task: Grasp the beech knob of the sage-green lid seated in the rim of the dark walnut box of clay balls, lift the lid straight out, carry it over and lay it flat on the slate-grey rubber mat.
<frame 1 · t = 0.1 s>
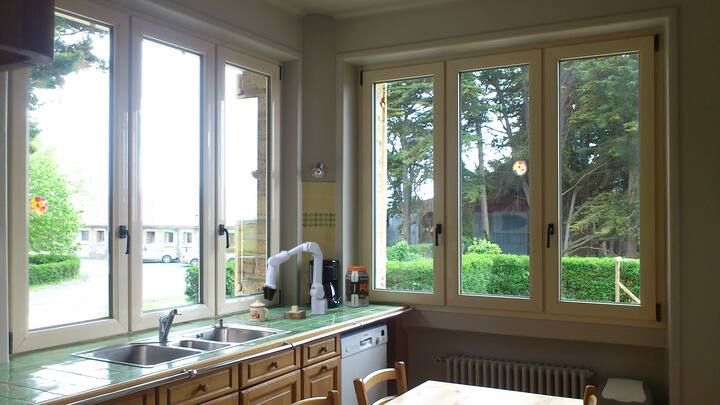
hand: (268, 299, 387), 11 cm above the counter, tool pointing down, fingers open, 7 cm apart
teacup with lid: (259, 321, 375), on the counter
rubber mat: (278, 316, 392), on the counter
lid: (294, 312, 383), point 3 cm above the counter, touching walnut box
walnut box: (294, 318, 383), on the counter
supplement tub: (357, 306, 433), on the counter
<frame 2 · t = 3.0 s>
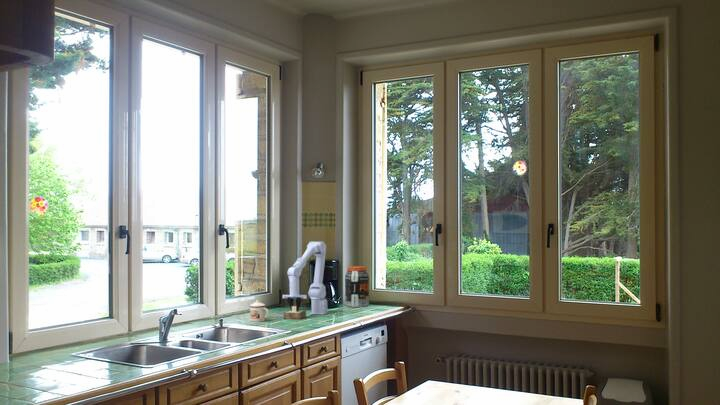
hand: (294, 310, 384), 4 cm above the counter, tool pointing down, fingers closed on lid, 3 cm apart
lid: (294, 312, 383), point 3 cm above the counter, touching gripper, walnut box
everything else where it was.
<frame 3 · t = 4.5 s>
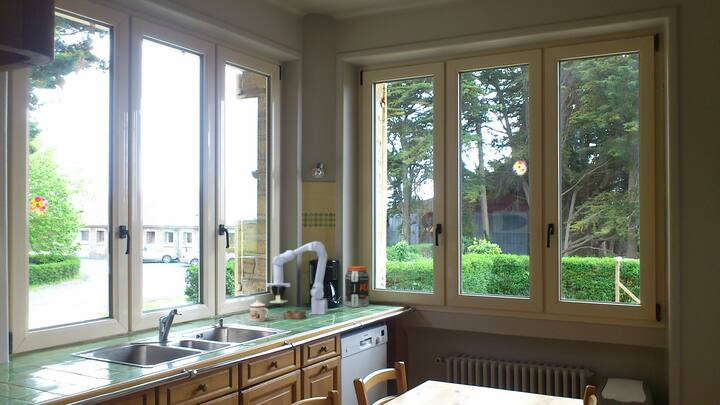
hand: (278, 298, 393), 10 cm above the counter, tool pointing down, fingers closed on lid, 3 cm apart
lid: (278, 302, 393), point 8 cm above the counter, touching gripper
everything else where it was.
when the fingers open (3 cm above the counter, at t = 6.2 s): lid stays where it is, resting on rubber mat.
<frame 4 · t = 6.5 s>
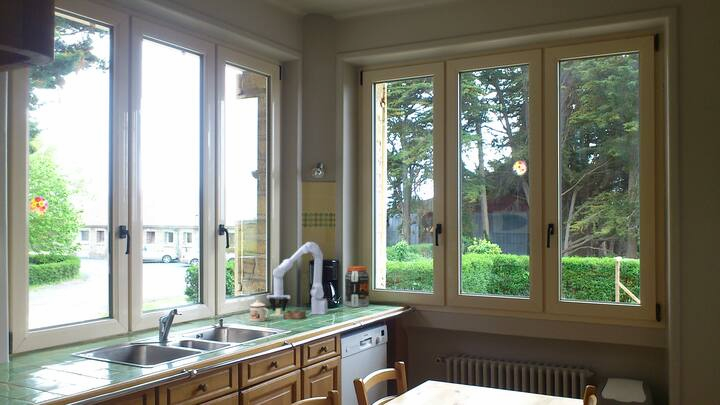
hand: (278, 310, 393), 3 cm above the counter, tool pointing down, fingers open, 6 cm apart
lid: (278, 315, 393), resting on rubber mat
everything else where it was.
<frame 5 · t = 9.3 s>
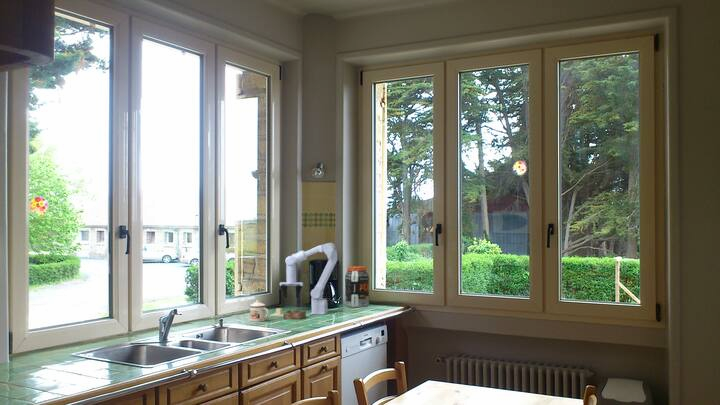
hand: (291, 297, 402), 10 cm above the counter, tool pointing down, fingers open, 7 cm apart
nothing on the counter moved.
at the end: lid inside the target area on the rubber mat (0.1 cm from its centre), point 0.4 cm above the rubber mat's base; lid tilted 0°; lid touching rubber mat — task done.
